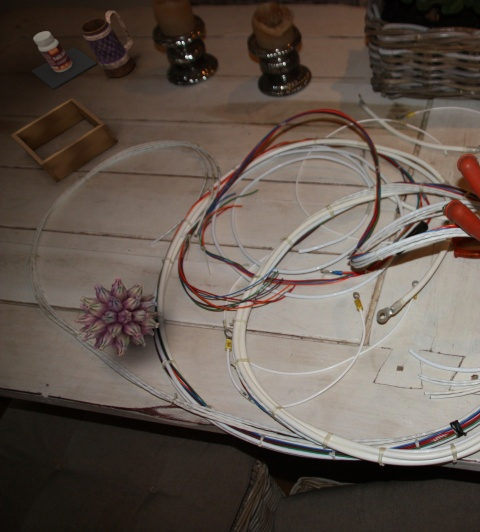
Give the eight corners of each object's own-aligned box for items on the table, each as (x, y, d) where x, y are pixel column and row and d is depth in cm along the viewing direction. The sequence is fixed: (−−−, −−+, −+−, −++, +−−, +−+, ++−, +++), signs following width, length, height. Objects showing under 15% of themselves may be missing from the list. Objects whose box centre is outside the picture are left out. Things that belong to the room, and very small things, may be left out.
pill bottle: (65, 73, 132) (42, 43, 125) (50, 71, 133) (27, 40, 126) (77, 61, 134) (55, 30, 128) (62, 59, 136) (40, 29, 129)
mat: (53, 90, 129) (52, 88, 129) (32, 72, 135) (31, 70, 134) (97, 64, 134) (96, 62, 133) (74, 47, 139) (74, 46, 139)
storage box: (57, 182, 111) (41, 165, 107) (26, 152, 117) (10, 134, 113) (118, 141, 116) (105, 123, 112) (85, 115, 122) (72, 97, 118)
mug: (118, 81, 128) (89, 35, 119) (100, 73, 131) (70, 28, 121) (150, 57, 133) (125, 11, 123) (132, 50, 135) (105, 4, 126)
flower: (132, 305, 93) (188, 303, 89) (98, 368, 86) (157, 369, 82) (83, 264, 85) (142, 260, 81) (40, 331, 78) (103, 330, 74)
